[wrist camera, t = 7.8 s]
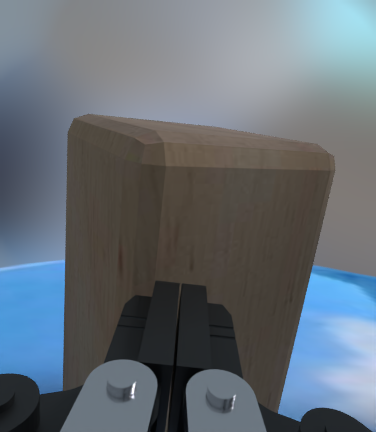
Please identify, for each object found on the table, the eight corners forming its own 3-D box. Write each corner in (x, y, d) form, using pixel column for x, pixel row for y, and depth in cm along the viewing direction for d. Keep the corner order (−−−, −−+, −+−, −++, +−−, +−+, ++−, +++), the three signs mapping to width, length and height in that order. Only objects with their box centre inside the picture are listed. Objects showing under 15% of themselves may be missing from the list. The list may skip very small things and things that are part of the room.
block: (104, 582, 16) (138, 131, 10) (58, 414, 24) (63, 110, 18) (268, 484, 21) (350, 148, 15) (184, 373, 29) (218, 126, 23)
